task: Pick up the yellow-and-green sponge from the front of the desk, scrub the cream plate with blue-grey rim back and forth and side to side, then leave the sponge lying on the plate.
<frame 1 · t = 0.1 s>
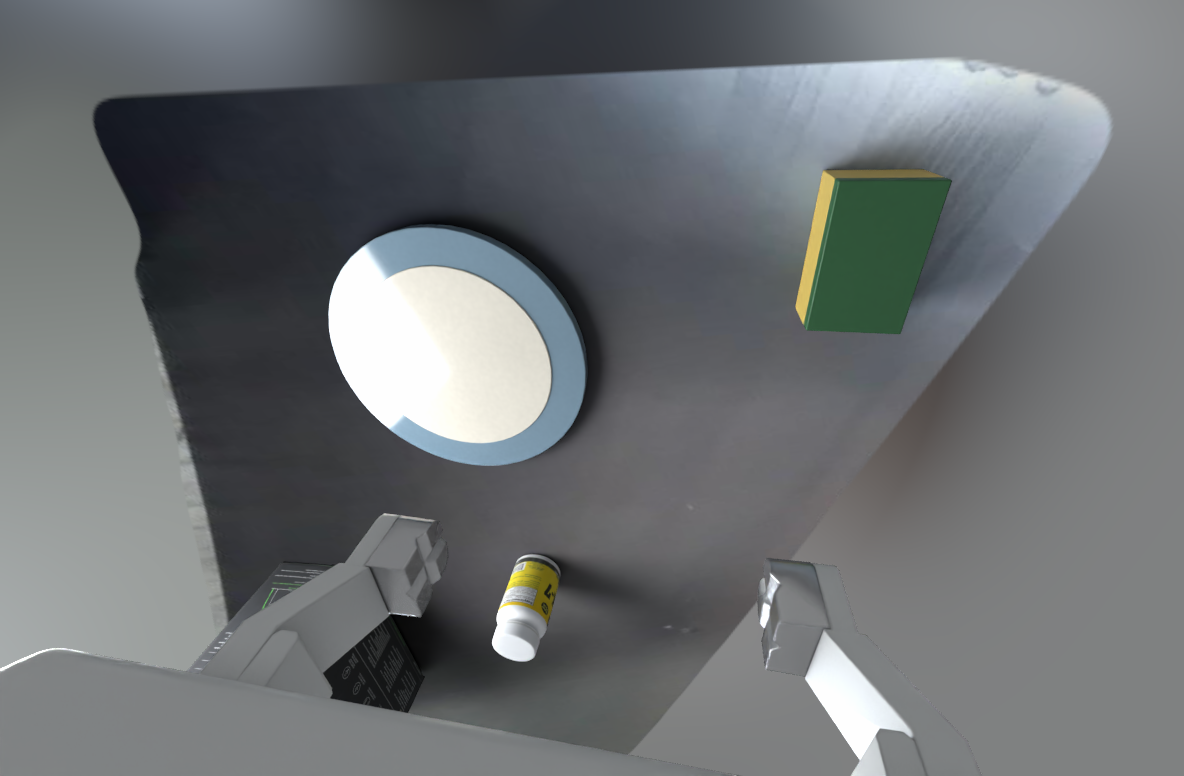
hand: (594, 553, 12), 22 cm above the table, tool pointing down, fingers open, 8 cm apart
plate: (459, 357, 37), on the table
supplement bottle: (539, 566, 49), on the table
headset box: (359, 619, 61), on the table
sponge: (853, 244, 28), on the table
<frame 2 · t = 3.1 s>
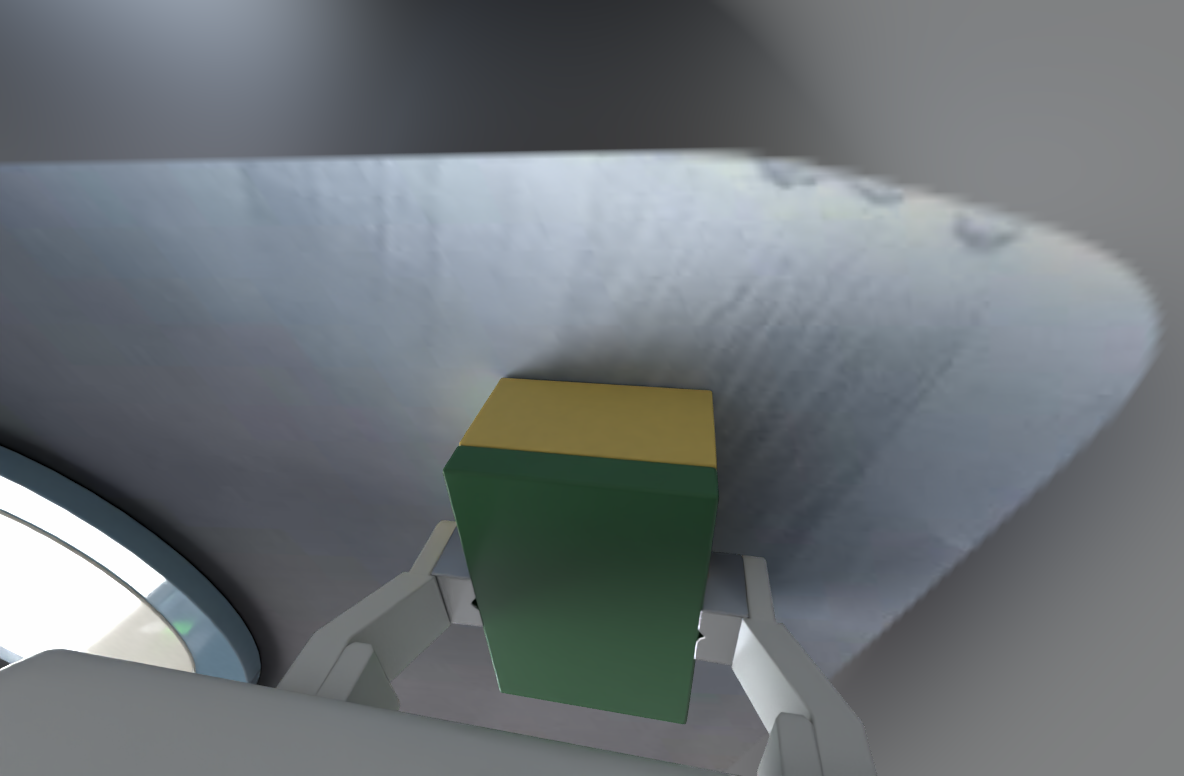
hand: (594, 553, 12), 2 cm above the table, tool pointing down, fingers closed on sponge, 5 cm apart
plate: (55, 587, 22), on the table
sponge: (606, 505, 13), on the table, touching gripper
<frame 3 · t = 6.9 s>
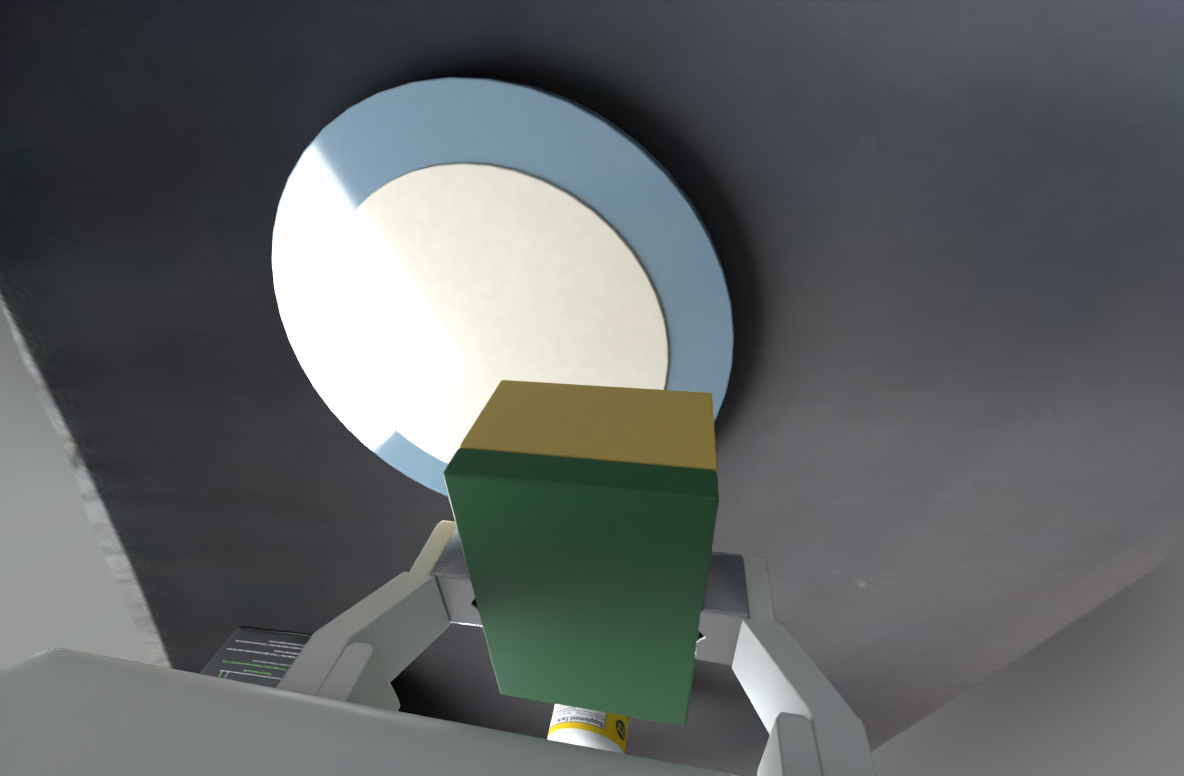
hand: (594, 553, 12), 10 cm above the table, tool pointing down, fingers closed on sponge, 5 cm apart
plate: (499, 343, 22), on the table
supplement bottle: (601, 650, 34), on the table
headset box: (346, 696, 46), on the table
sponge: (606, 507, 13), point 9 cm above the table, touching gripper
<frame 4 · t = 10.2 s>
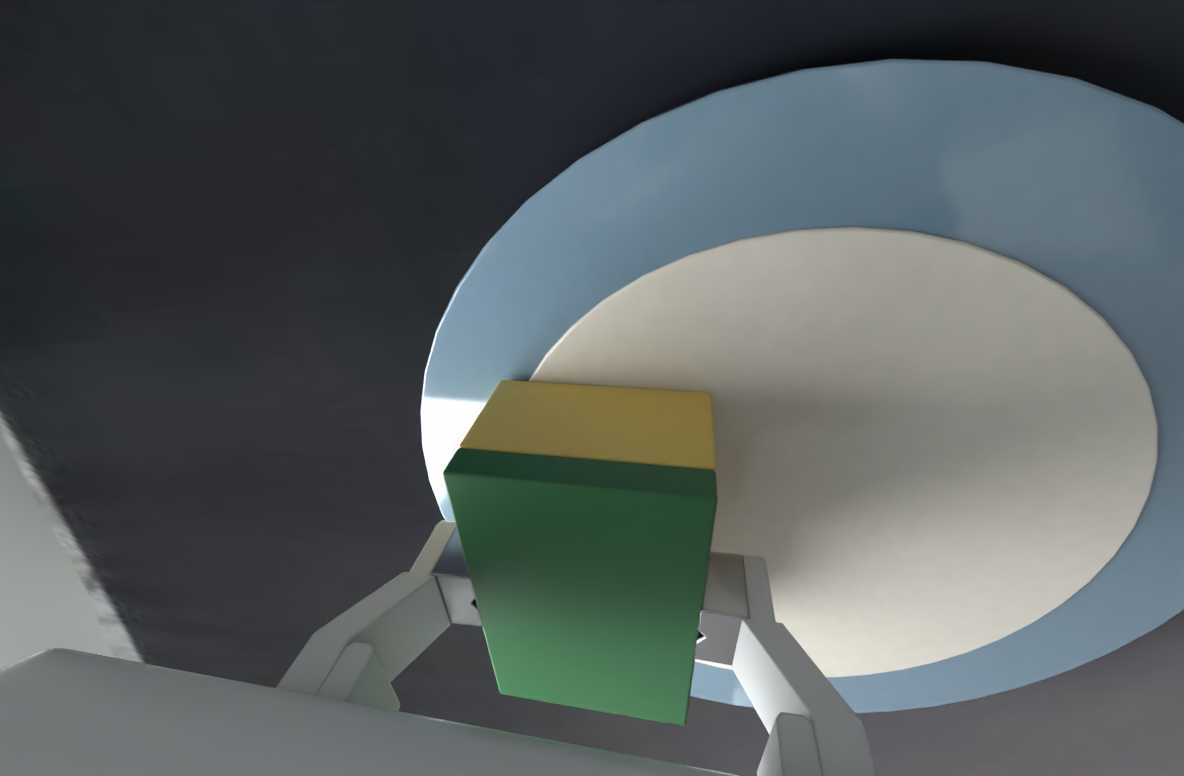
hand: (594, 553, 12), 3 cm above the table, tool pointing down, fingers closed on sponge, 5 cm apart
plate: (775, 493, 13), on the table
sponge: (605, 507, 13), point 1 cm above the table, touching gripper
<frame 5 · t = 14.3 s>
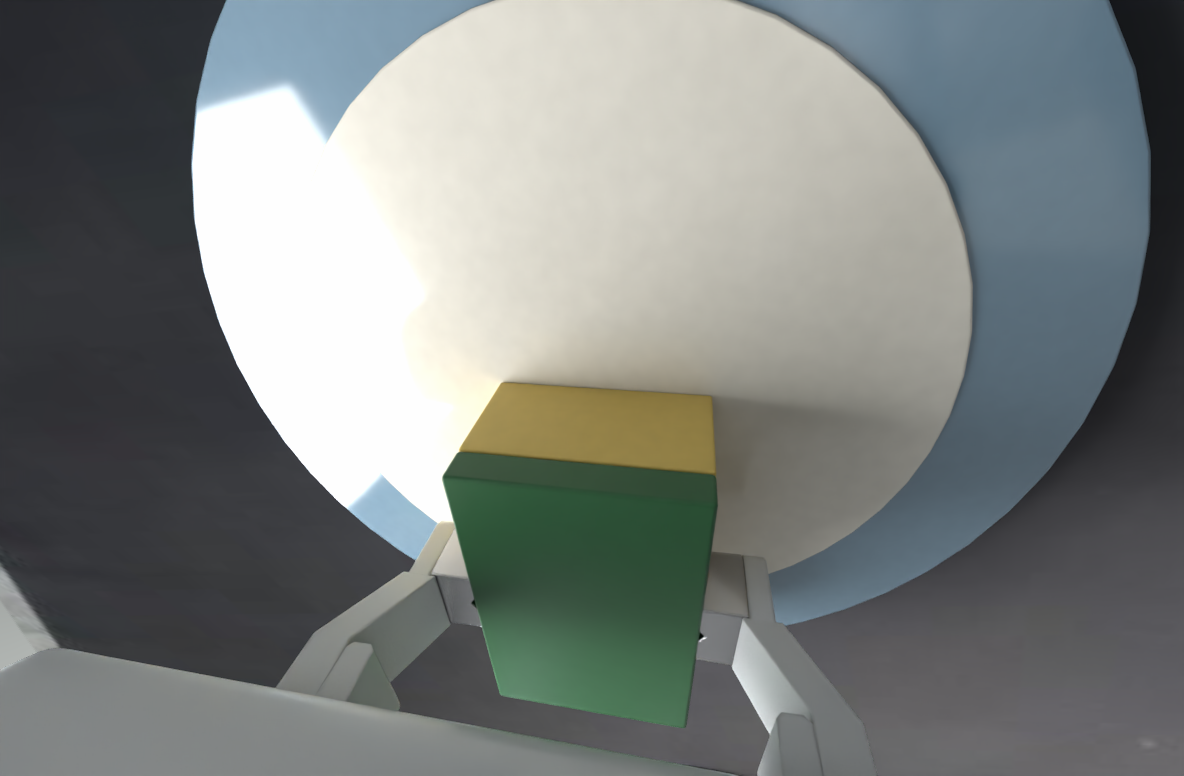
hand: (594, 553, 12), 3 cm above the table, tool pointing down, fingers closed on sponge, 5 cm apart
plate: (605, 370, 12), on the table
sponge: (606, 509, 13), point 1 cm above the table, touching gripper, plate
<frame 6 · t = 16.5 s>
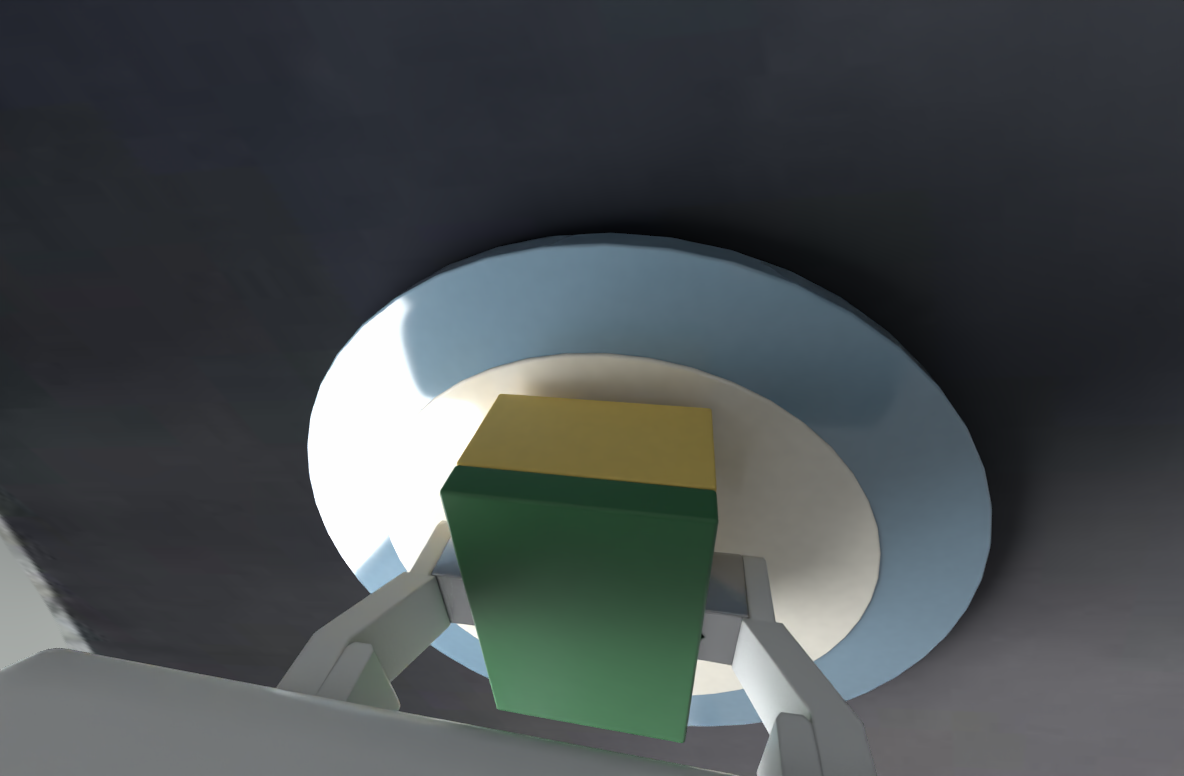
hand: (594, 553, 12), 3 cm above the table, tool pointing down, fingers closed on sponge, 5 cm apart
plate: (615, 542, 16), on the table
sponge: (604, 521, 13), point 1 cm above the table, touching gripper
when the fingers open (2 cm above the table, at t = 17.7 s): sponge stays where it is, resting on plate.
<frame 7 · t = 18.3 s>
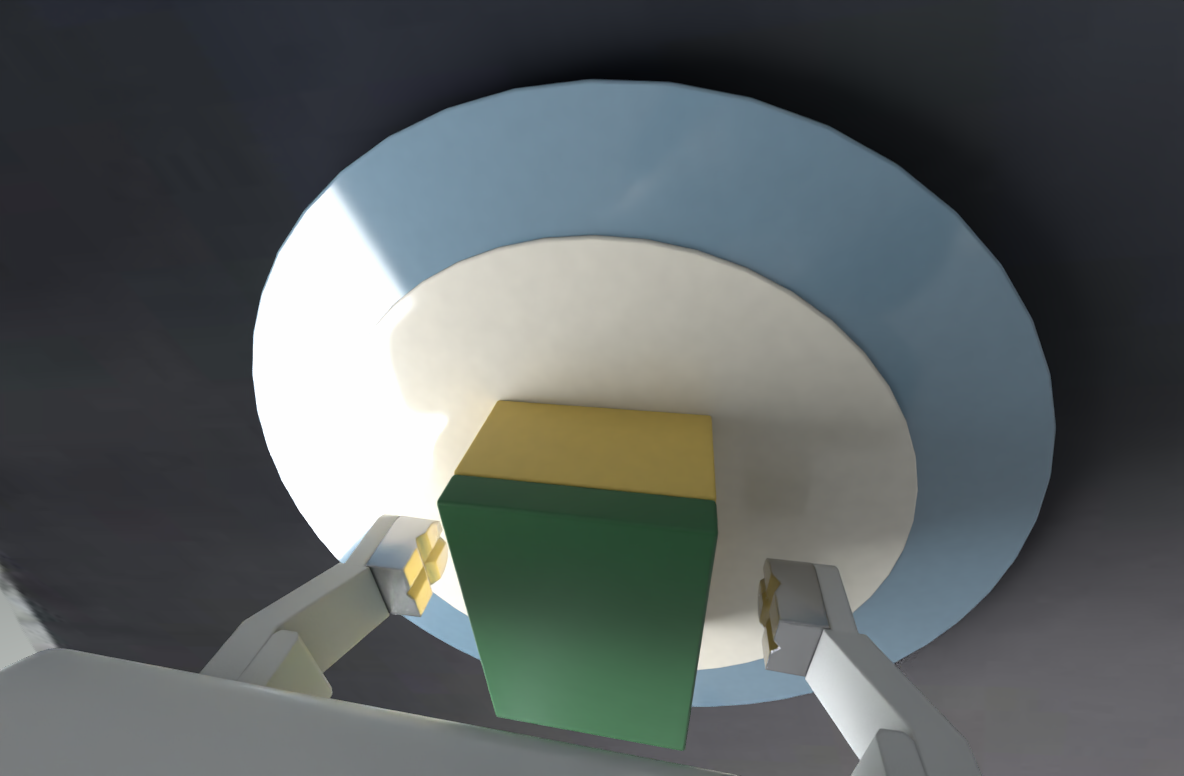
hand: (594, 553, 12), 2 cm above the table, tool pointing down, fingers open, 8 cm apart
plate: (607, 491, 14), on the table
sponge: (604, 527, 13), point 1 cm above the table, touching plate
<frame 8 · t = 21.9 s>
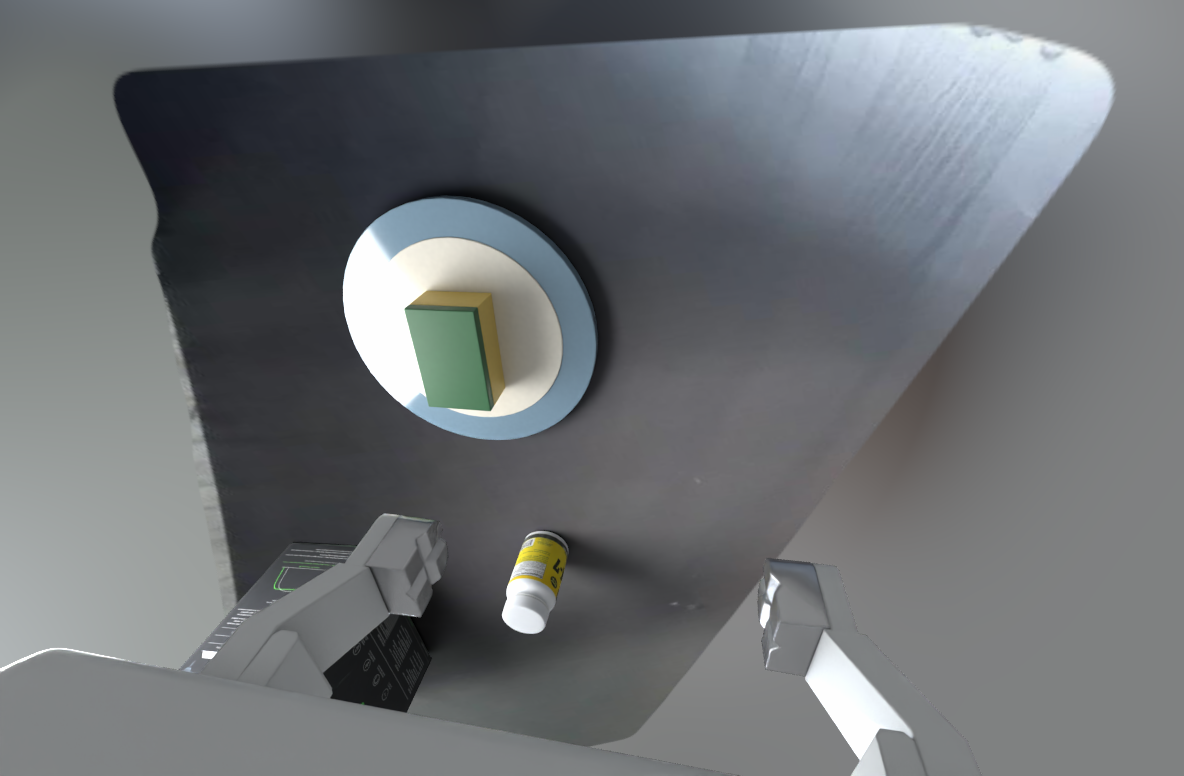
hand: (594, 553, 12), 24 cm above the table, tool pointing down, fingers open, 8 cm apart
plate: (471, 331, 38), on the table
supplement bottle: (547, 543, 50), on the table
headset box: (368, 600, 62), on the table
sponge: (467, 341, 37), point 1 cm above the table, touching plate
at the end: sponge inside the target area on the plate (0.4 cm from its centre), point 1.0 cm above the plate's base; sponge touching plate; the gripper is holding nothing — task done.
